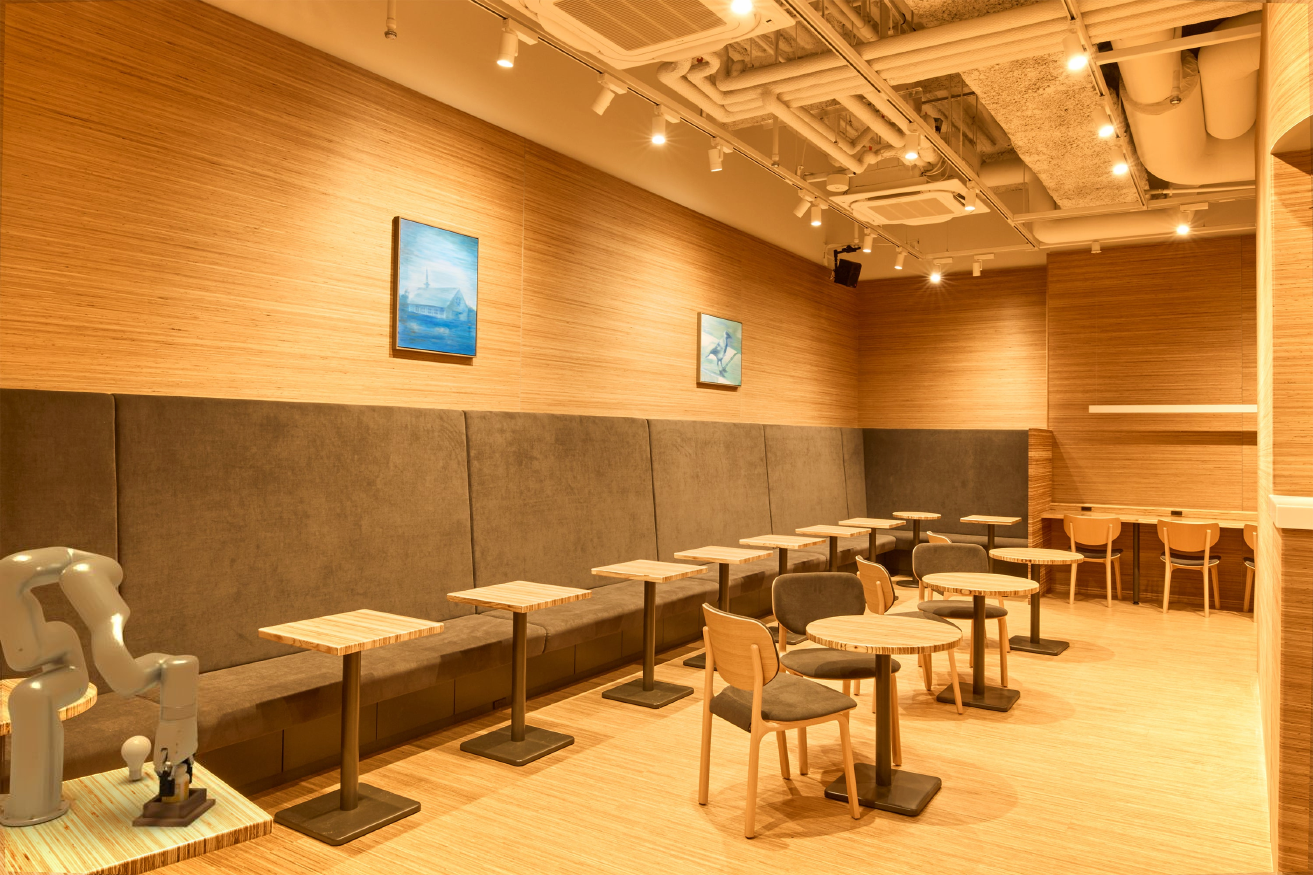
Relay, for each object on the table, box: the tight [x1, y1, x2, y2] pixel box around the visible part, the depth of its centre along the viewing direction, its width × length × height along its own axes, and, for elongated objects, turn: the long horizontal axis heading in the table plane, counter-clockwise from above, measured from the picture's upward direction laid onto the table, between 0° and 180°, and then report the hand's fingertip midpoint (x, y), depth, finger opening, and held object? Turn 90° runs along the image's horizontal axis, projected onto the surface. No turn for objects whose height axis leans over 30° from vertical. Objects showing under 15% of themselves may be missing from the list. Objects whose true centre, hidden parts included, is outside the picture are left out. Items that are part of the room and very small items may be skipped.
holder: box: [131, 787, 217, 828], centre depth 185 cm, size 12×12×4 cm
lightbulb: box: [120, 735, 152, 782], centre depth 204 cm, size 6×6×11 cm
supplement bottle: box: [162, 763, 190, 803], centre depth 185 cm, size 5×5×10 cm
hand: (175, 789), depth 185 cm, fingers open, 6 cm apart
